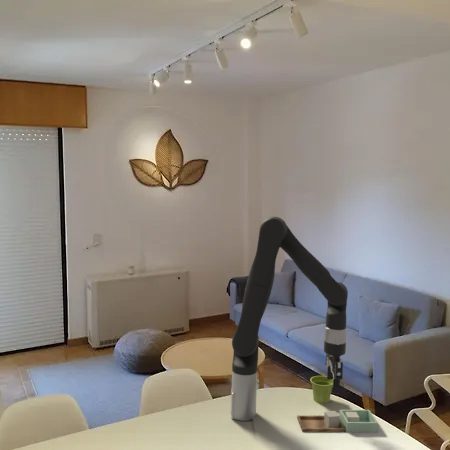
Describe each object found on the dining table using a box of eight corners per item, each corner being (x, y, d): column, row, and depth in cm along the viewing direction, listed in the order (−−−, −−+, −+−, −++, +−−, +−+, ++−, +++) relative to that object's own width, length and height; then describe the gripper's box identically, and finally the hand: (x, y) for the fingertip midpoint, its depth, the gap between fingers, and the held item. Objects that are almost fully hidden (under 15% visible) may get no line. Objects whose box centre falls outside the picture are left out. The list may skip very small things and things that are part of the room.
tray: (302, 433, 178) (302, 429, 178) (297, 419, 188) (297, 415, 188) (344, 433, 179) (344, 429, 179) (337, 419, 189) (337, 415, 189)
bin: (346, 433, 178) (347, 422, 178) (339, 420, 188) (339, 409, 188) (377, 433, 179) (378, 422, 178) (368, 420, 189) (369, 409, 188)
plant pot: (335, 407, 199) (336, 385, 198) (311, 406, 199) (312, 384, 198) (331, 396, 208) (332, 376, 207) (307, 396, 208) (308, 375, 207)
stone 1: (328, 427, 181) (328, 416, 181) (323, 422, 185) (324, 411, 185) (339, 426, 182) (339, 416, 182) (334, 421, 186) (334, 410, 186)
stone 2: (347, 427, 181) (348, 417, 181) (344, 422, 185) (345, 411, 185) (358, 428, 181) (359, 417, 181) (355, 422, 185) (356, 412, 185)
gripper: (320, 333, 187) (318, 376, 189) (329, 346, 173) (327, 392, 175) (340, 333, 188) (338, 376, 189) (351, 346, 174) (349, 392, 175)
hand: (333, 384), depth 182 cm, fingers open, 8 cm apart
